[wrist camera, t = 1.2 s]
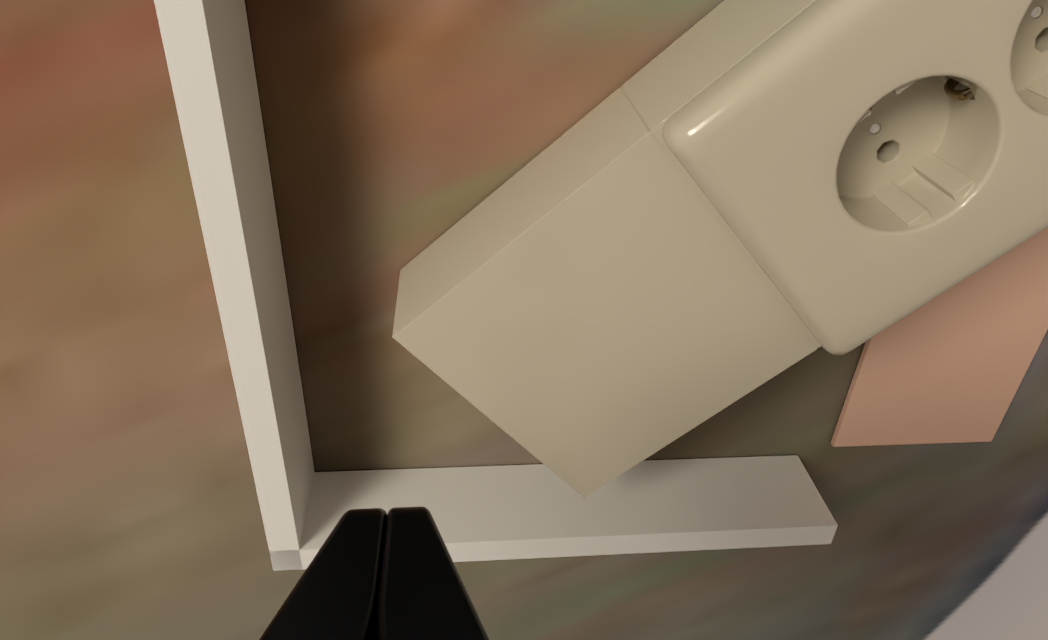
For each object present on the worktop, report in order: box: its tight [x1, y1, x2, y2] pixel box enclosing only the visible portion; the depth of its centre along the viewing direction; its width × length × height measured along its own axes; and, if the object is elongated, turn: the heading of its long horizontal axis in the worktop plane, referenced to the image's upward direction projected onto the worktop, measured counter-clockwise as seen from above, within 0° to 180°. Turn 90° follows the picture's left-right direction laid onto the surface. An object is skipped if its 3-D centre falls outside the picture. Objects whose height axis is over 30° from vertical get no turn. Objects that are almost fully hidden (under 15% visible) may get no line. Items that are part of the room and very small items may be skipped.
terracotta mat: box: [831, 227, 1048, 447], centre depth 19 cm, size 20×6×1 cm, turn 178°
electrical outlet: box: [392, 0, 1048, 498], centre depth 17 cm, size 7×4×18 cm
